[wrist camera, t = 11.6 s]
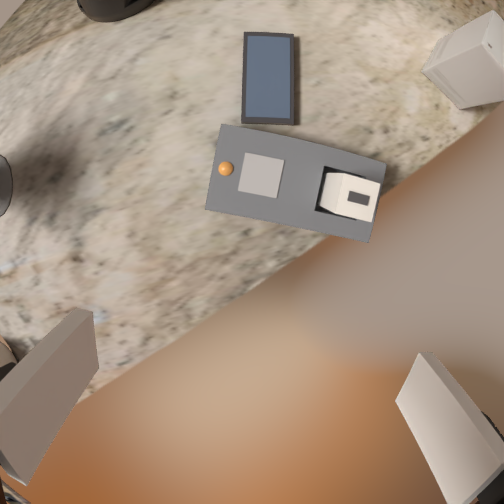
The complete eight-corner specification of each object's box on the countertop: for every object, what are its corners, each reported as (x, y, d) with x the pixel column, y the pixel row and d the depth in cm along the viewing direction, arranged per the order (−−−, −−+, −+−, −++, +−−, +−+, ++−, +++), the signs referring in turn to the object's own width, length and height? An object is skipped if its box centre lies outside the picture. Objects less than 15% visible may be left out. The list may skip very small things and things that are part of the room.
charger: (322, 172, 36) (344, 173, 27) (351, 180, 36) (380, 183, 27) (315, 203, 37) (335, 213, 28) (345, 210, 37) (371, 222, 28)
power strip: (224, 128, 35) (221, 123, 31) (374, 164, 36) (387, 163, 32) (209, 205, 38) (204, 209, 34) (357, 236, 39) (368, 243, 35)
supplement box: (459, 111, 34) (526, 100, 19) (419, 71, 33) (480, 42, 18) (475, 76, 32) (535, 59, 17) (438, 38, 31) (493, 7, 16)
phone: (244, 34, 32) (244, 31, 31) (292, 37, 32) (293, 33, 31) (241, 123, 35) (241, 122, 34) (292, 125, 35) (293, 124, 34)
